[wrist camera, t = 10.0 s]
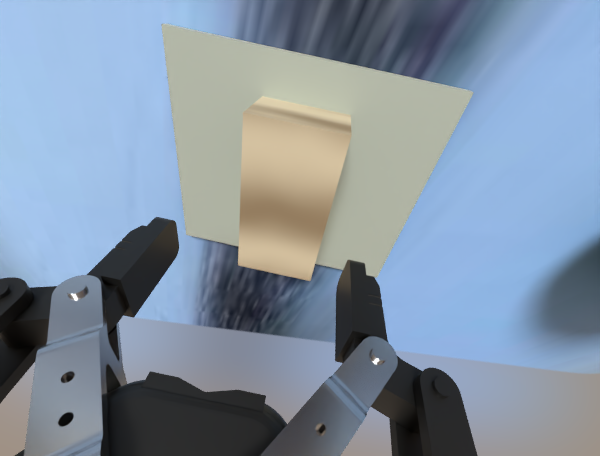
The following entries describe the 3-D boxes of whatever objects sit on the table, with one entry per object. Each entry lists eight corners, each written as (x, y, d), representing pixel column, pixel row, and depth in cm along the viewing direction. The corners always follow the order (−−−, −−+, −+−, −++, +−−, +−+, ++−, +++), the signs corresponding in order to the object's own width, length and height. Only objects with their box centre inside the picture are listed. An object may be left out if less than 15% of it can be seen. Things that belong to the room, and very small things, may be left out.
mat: (189, 230, 23) (186, 234, 22) (167, 23, 14) (161, 23, 13) (376, 272, 22) (376, 277, 22) (469, 90, 14) (473, 92, 13)
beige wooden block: (262, 96, 15) (242, 112, 12) (350, 115, 15) (351, 135, 12) (252, 233, 21) (238, 265, 18) (315, 247, 21) (310, 281, 18)
